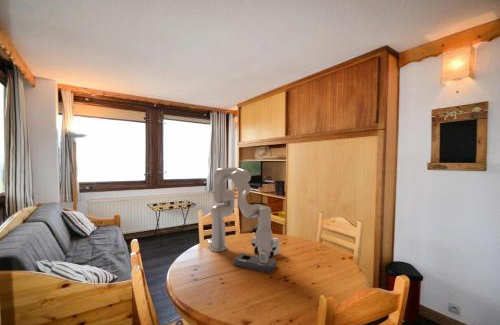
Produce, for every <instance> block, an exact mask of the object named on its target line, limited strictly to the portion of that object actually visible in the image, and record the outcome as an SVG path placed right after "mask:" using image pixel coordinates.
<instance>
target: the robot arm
mask: <svg viewBox="0 0 500 325" xmlns="http://www.w3.org/2000/svg"><path fill="white" fill-rule="evenodd" d="M213 174H214V175H213V177H214V178H213V179H214V189H213V190H214V191H213V201H214V203H216V205H213V206H212V207H211V209H210V216H211V217H210V218H211V240H208V241H207V245H209V250H210V251H212V252H216V253H217V252H224V251H226V250H227V249H228V245H227V244H226V222H225V220H224V219H223V218H226V217H227V218H228V217H230V216H232V215H233V213H234V208H235V192H234V191H233V190H232V189H231V188H230V189H229V188H227V182H226V181H228V180H231V181H232V183H233V185H234V186H235V189H236V191H237V193H238V197H237V198H238V199H237V200H238V208H239V209H240V212H241V213H242V215H243V217H245V219H253V218H257V220H258V221H257V223H258V224H256V225H255V227H257V229H256V232H255V236H254V237H255V238H254V237H253V238H251V239H250V242H251V245H252V246H253V252H254V256H258V255H259V253H258V247H262V248H268V249H270V250H271V251H270V256H269V258H270V259H273V257H275V255H274V250H275V249H276V248H277V246H278V244H277V243H276V242H274V241H273V238H274V236H273V231H272V228H271V226H272V225H271V224H272V209H271V207H270V206H266V205H265V206H264V205H262V204H261V203H260V204H259V203H256V204H249V203H248V201H247V195H248V194H249V193H251V191H252V188H251V186H250V184H249V182H250V181H251V179H252V175H251V173H250V172H249V170H247V169H243V168H238V167H220V168H219V167H218V168H217V169H216V170H215V171H214V173H213ZM254 241H255V243H254ZM273 244H274V245H275V247H274V248H273Z"/></svg>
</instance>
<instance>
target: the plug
mask: <svg viewBox="0 0 500 325" xmlns="http://www.w3.org/2000/svg"><path fill="white" fill-rule="evenodd" d="M259 257H260V263H265V264H267V263H268V262H269V258H270V256H269V251H268V250H266V249H262V250H261V251H260V255H259Z"/></svg>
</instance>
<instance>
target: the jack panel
mask: <svg viewBox="0 0 500 325" xmlns="http://www.w3.org/2000/svg"><path fill="white" fill-rule="evenodd" d="M233 266H236V267H240V268H244V269H249V270H252V271H256V272H261V273H267V274H272V273H273V272H274V271H275V269H276V268H277V259H274V258H270V257H269V262H268V263H267V264H265V263H260V255H259V256H258V255H255V254H254V255H253V254H250V253H249V254H248V253H243V252H240V253H239V254H238V255H237V256H235V257H234V258H233Z"/></svg>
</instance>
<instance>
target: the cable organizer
mask: <svg viewBox="0 0 500 325" xmlns="http://www.w3.org/2000/svg"><path fill="white" fill-rule="evenodd" d="M254 238H255V236H254V237H253V239H254ZM273 241H274V242H276V243H277V244H278V246H277V248H276V249H275V250H274V256H276V255H279V254H280V251H281V250H280V246H281V245H280V242H281V241H280V238H278V237H273ZM254 243H255V241H254ZM274 247H275V245H274V244H273V248H274ZM262 249H266V250H268V251H269V257H270V251H271V250H270V249H268V248H262V247H258V255H259V256H260V251H261V250H262Z"/></svg>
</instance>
